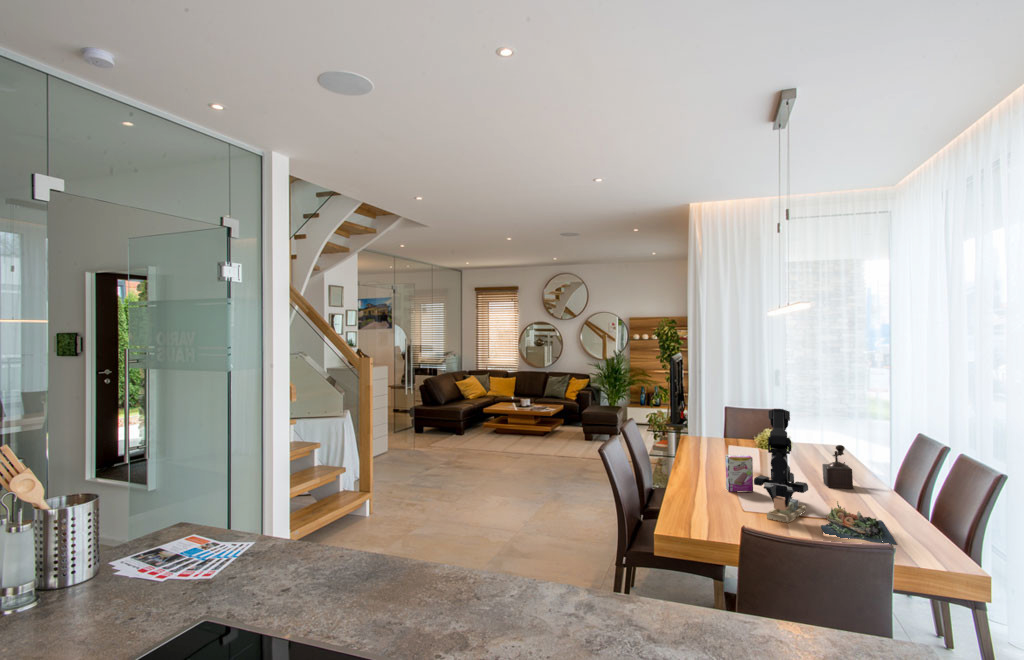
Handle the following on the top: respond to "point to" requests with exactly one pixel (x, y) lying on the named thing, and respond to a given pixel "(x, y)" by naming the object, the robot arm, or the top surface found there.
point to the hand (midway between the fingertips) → (781, 505)
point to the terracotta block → (780, 503)
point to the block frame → (787, 512)
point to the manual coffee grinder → (838, 472)
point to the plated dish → (856, 527)
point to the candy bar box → (739, 473)
